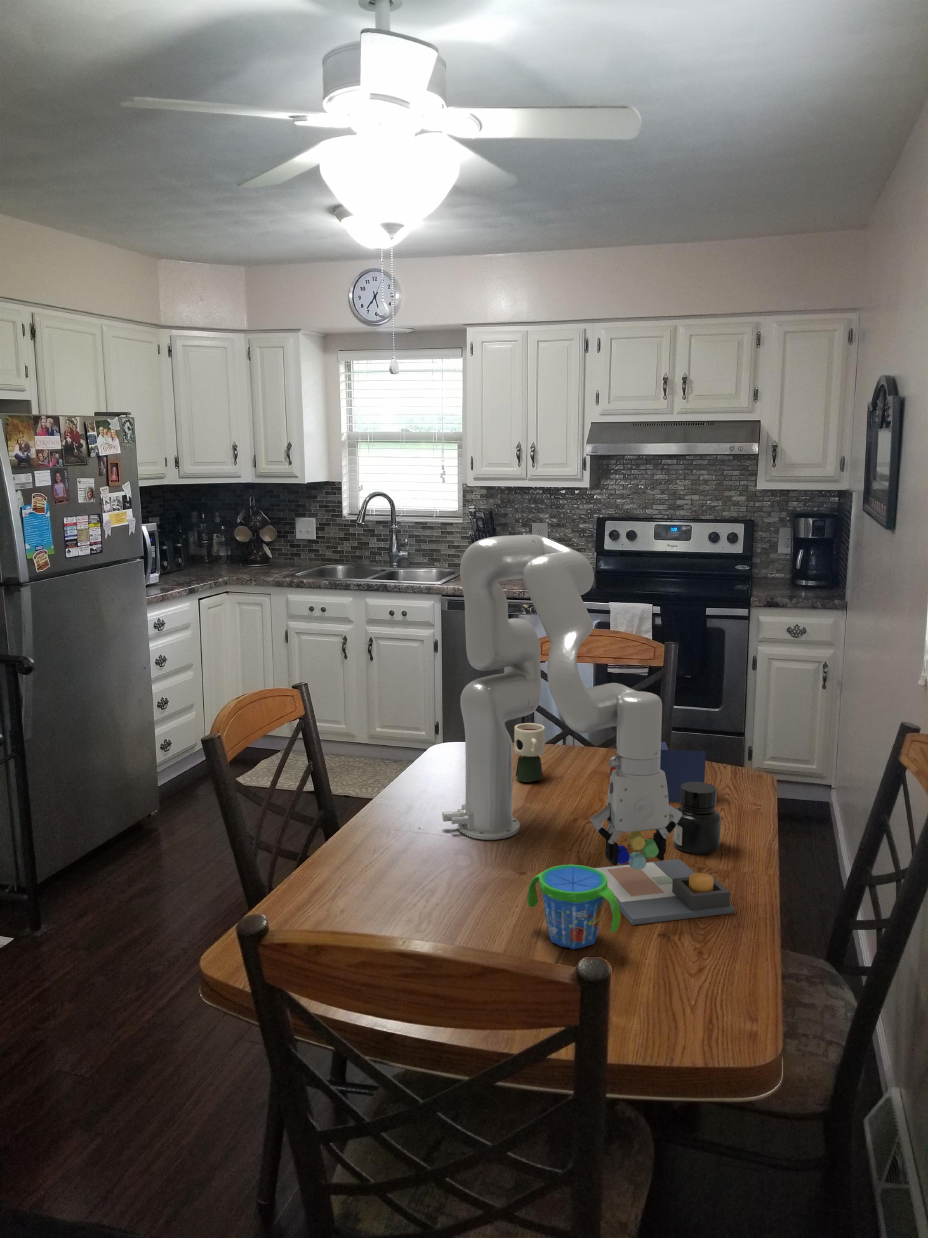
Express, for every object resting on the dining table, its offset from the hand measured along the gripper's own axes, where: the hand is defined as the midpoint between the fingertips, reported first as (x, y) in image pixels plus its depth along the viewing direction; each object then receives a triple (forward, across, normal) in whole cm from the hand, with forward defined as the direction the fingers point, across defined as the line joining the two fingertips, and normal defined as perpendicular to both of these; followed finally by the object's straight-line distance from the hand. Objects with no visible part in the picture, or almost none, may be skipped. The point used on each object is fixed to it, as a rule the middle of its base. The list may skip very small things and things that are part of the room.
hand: (635, 859), depth 166 cm
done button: (+3, +8, -9) cm, 12 cm away
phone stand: (+5, +28, +43) cm, 52 cm away
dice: (+1, 0, 0) cm, 1 cm away
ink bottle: (+5, +19, +14) cm, 24 cm away
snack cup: (+5, -17, -15) cm, 23 cm away
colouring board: (+5, +3, -3) cm, 7 cm away
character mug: (+5, -1, +59) cm, 59 cm away
